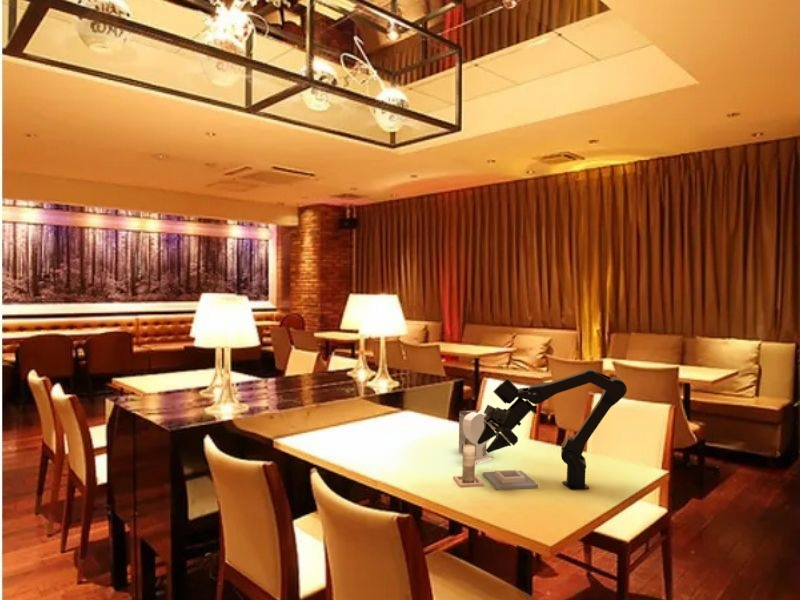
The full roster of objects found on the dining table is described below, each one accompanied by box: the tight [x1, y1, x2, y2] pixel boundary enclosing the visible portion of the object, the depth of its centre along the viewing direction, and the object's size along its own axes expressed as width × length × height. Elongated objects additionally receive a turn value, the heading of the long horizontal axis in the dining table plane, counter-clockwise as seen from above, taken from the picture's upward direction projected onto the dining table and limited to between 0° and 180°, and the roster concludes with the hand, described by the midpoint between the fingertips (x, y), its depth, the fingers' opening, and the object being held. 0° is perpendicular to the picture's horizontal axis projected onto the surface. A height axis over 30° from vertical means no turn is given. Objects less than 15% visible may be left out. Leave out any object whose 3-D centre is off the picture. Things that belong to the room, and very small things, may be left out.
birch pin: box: [461, 444, 476, 483], centre depth 189 cm, size 4×4×12 cm
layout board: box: [482, 469, 539, 491], centre depth 191 cm, size 14×14×2 cm
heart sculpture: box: [463, 409, 494, 465], centre depth 212 cm, size 16×5×18 cm, turn 134°
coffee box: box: [458, 409, 487, 456], centre depth 221 cm, size 9×6×16 cm
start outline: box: [452, 474, 485, 488], centre depth 189 cm, size 8×8×1 cm
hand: (482, 447), depth 190 cm, fingers open, 9 cm apart
